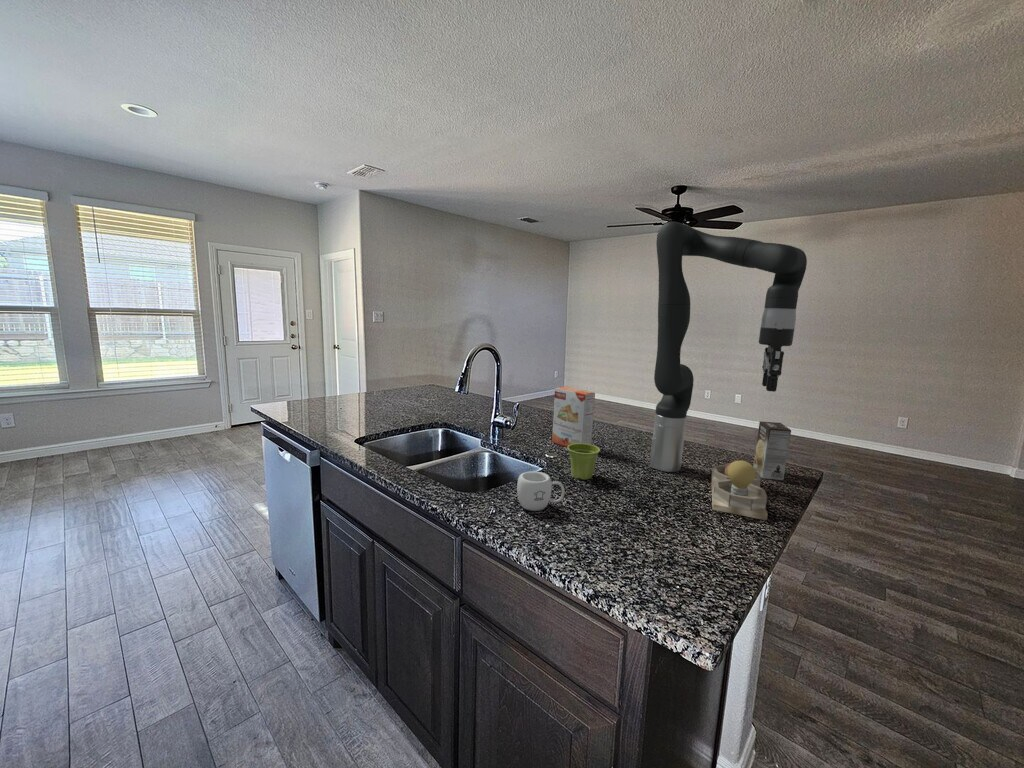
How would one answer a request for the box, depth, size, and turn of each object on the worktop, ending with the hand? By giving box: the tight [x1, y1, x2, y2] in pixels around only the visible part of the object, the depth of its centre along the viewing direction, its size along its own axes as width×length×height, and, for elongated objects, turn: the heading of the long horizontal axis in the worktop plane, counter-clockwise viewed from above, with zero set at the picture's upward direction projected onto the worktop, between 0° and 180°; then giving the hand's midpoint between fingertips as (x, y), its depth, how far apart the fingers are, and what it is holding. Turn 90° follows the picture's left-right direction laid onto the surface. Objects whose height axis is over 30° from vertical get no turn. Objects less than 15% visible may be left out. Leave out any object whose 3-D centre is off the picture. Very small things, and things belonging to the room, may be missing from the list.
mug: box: [516, 470, 565, 512], centre depth 108 cm, size 12×8×8 cm
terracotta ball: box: [725, 461, 733, 477], centre depth 125 cm, size 6×6×6 cm
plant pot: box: [566, 443, 601, 481], centre depth 129 cm, size 9×9×9 cm
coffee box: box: [752, 420, 792, 481], centre depth 136 cm, size 9×6×16 cm
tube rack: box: [710, 464, 769, 521], centre depth 120 cm, size 12×26×4 cm, turn 157°
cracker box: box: [551, 386, 596, 448], centre depth 157 cm, size 14×6×21 cm, turn 43°
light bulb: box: [728, 460, 757, 497], centre depth 114 cm, size 6×6×10 cm
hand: (768, 388), depth 115 cm, fingers open, 8 cm apart
